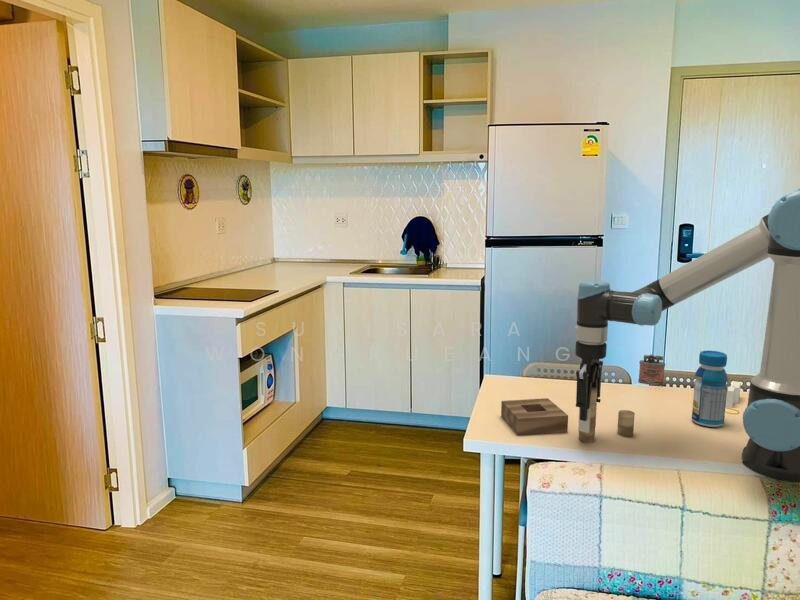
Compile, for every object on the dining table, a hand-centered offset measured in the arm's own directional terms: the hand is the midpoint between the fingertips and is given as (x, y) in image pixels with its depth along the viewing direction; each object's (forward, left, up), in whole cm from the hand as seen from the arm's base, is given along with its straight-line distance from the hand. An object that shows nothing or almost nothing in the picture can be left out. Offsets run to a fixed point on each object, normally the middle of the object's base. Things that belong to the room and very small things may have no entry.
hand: (587, 428), depth 154 cm
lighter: (+41, -43, -3) cm, 60 cm away
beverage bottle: (+6, -39, -3) cm, 40 cm away
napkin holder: (+21, -57, -4) cm, 61 cm away
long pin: (0, 0, -3) cm, 3 cm away
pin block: (+12, +10, -3) cm, 16 cm away
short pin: (+2, -12, -3) cm, 13 cm away
